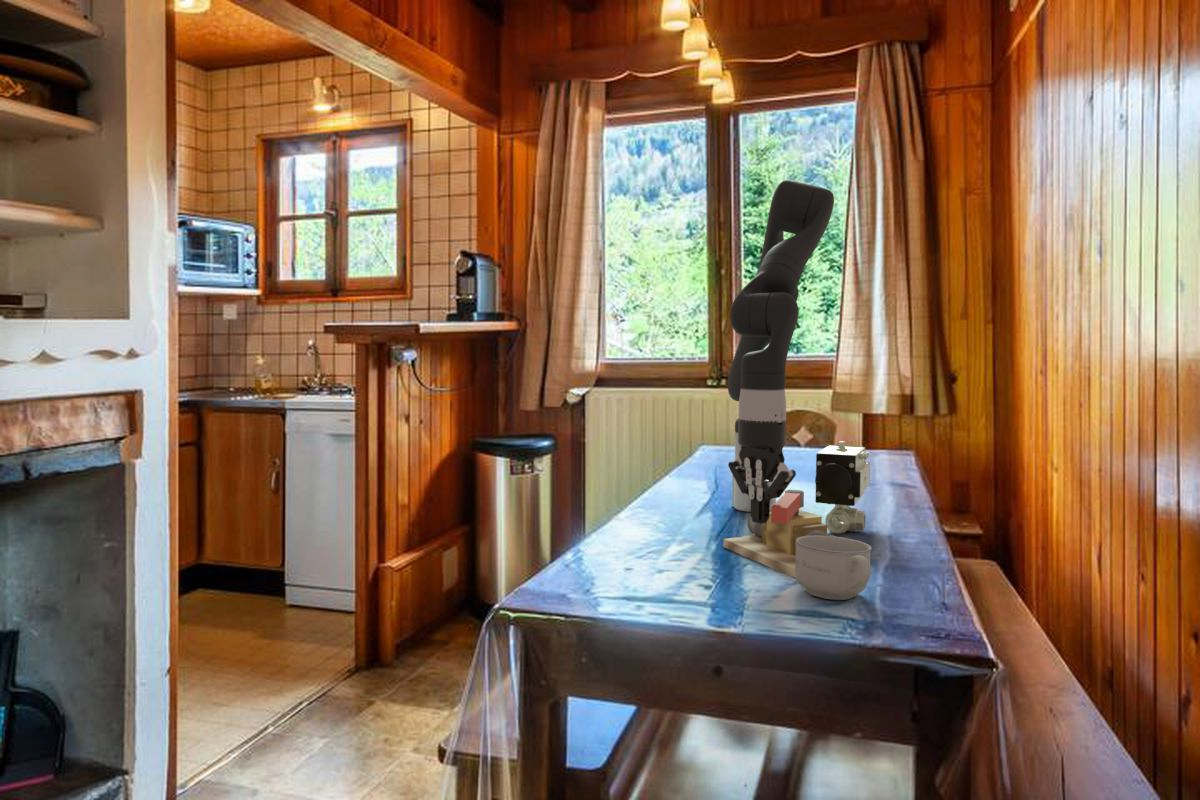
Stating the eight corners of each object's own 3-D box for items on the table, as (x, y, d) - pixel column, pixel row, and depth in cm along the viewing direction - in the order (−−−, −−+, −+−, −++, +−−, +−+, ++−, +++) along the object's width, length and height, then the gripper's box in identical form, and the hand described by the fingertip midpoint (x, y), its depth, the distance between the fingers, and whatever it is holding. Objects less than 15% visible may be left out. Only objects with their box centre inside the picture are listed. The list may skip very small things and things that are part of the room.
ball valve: (859, 543, 145) (861, 448, 143) (812, 538, 148) (814, 446, 147) (871, 523, 161) (873, 437, 159) (829, 519, 164) (831, 435, 163)
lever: (786, 503, 137) (786, 489, 137) (804, 504, 136) (805, 490, 136) (768, 522, 123) (768, 506, 123) (789, 524, 122) (789, 508, 122)
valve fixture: (723, 546, 142) (723, 498, 142) (789, 538, 149) (790, 491, 148) (797, 578, 123) (798, 522, 123) (869, 567, 129) (871, 514, 129)
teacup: (784, 583, 121) (785, 533, 120) (852, 582, 122) (853, 531, 121) (817, 615, 107) (818, 558, 106) (893, 613, 108) (894, 556, 107)
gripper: (716, 414, 129) (714, 517, 130) (778, 421, 118) (775, 533, 120) (747, 412, 133) (745, 512, 135) (810, 419, 123) (807, 527, 124)
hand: (759, 522), depth 127 cm, fingers closed
